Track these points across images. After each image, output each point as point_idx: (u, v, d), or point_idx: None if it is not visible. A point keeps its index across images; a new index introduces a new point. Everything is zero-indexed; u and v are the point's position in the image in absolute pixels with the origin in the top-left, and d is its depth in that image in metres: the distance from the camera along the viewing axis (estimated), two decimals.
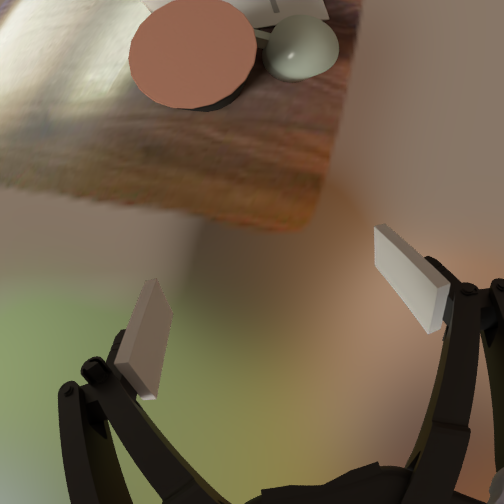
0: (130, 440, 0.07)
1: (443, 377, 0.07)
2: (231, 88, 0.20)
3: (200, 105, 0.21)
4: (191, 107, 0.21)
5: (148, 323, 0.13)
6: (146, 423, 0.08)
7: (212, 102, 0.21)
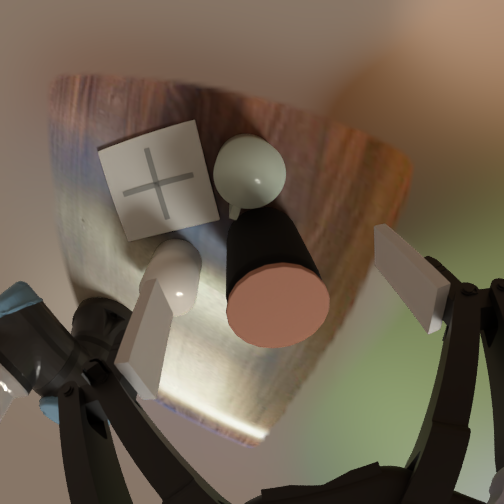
0: (130, 440, 0.07)
1: (443, 377, 0.07)
2: (320, 285, 0.28)
3: (328, 305, 0.29)
4: (328, 310, 0.29)
5: (148, 323, 0.13)
6: (146, 423, 0.08)
7: (328, 297, 0.28)
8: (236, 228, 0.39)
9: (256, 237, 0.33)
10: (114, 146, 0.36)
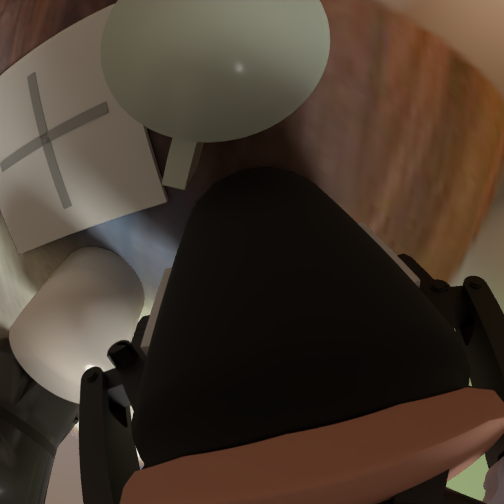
0: None
1: None
2: (501, 432, 0.04)
3: (479, 457, 0.05)
4: (469, 465, 0.05)
5: None
6: None
7: (492, 445, 0.04)
8: (195, 217, 0.15)
9: (240, 238, 0.09)
10: None
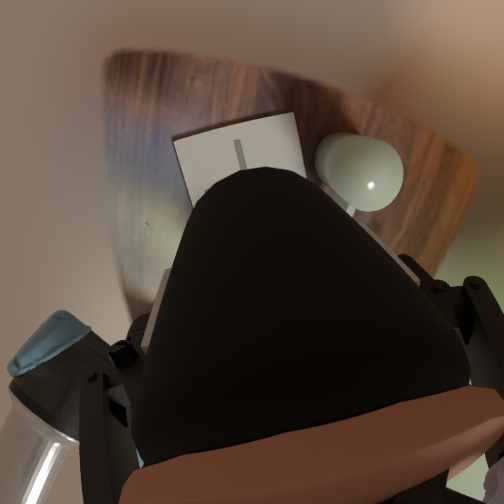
0: None
1: None
2: (501, 431, 0.04)
3: (479, 456, 0.05)
4: (469, 464, 0.05)
5: None
6: None
7: (493, 444, 0.04)
8: (194, 216, 0.15)
9: (240, 237, 0.09)
10: (196, 136, 0.33)
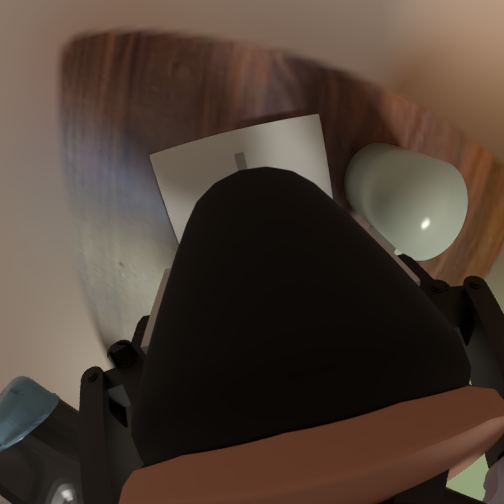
0: None
1: None
2: (502, 431, 0.04)
3: (479, 456, 0.05)
4: (469, 464, 0.05)
5: None
6: None
7: (493, 444, 0.04)
8: (194, 216, 0.15)
9: (240, 237, 0.09)
10: (180, 147, 0.23)
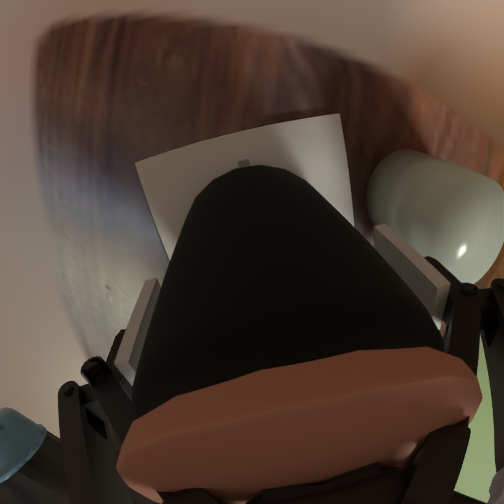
0: None
1: None
2: (474, 402, 0.05)
3: None
4: None
5: (148, 323, 0.13)
6: None
7: (470, 421, 0.06)
8: (193, 210, 0.16)
9: (232, 224, 0.10)
10: (171, 153, 0.19)
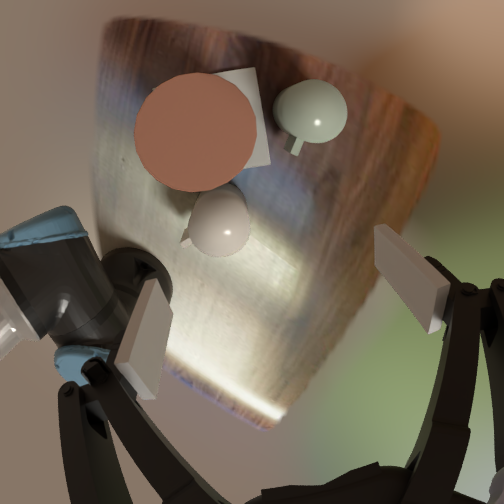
0: (130, 440, 0.07)
1: (443, 377, 0.07)
2: (242, 97, 0.21)
3: (255, 127, 0.23)
4: (255, 136, 0.23)
5: (148, 324, 0.13)
6: (146, 423, 0.08)
7: (254, 116, 0.22)
8: None
9: None
10: None
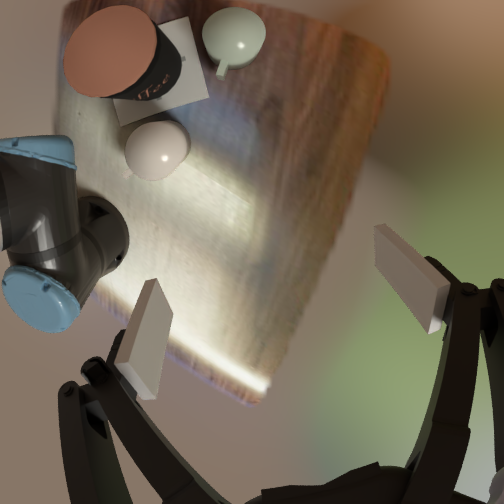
0: (130, 440, 0.07)
1: (443, 377, 0.07)
2: (142, 15, 0.19)
3: (153, 34, 0.20)
4: (154, 40, 0.21)
5: (148, 324, 0.13)
6: (146, 423, 0.08)
7: (152, 26, 0.20)
8: None
9: None
10: None
